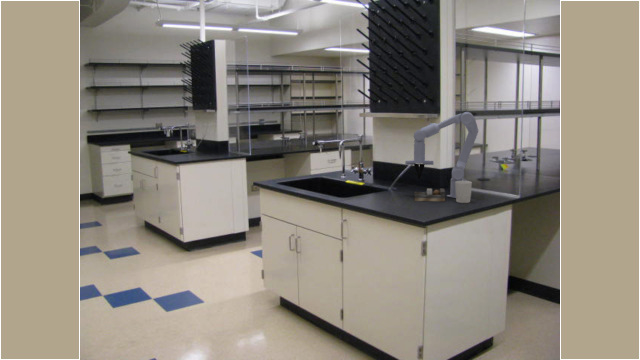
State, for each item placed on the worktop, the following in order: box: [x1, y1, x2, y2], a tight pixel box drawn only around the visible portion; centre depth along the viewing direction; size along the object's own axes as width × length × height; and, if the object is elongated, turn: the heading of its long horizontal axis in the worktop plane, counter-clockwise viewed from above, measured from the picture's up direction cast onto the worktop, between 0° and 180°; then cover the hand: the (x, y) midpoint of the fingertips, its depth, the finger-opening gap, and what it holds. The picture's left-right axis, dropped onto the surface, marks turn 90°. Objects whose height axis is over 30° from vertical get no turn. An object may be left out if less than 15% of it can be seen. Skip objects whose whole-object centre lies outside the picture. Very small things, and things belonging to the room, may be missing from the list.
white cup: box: [455, 180, 473, 204], centre depth 253 cm, size 8×8×10 cm
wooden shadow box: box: [414, 187, 446, 202], centre depth 261 cm, size 15×9×5 cm, turn 80°
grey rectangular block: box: [426, 188, 433, 195], centre depth 261 cm, size 2×6×3 cm, turn 169°
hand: (419, 178), depth 270 cm, fingers closed
